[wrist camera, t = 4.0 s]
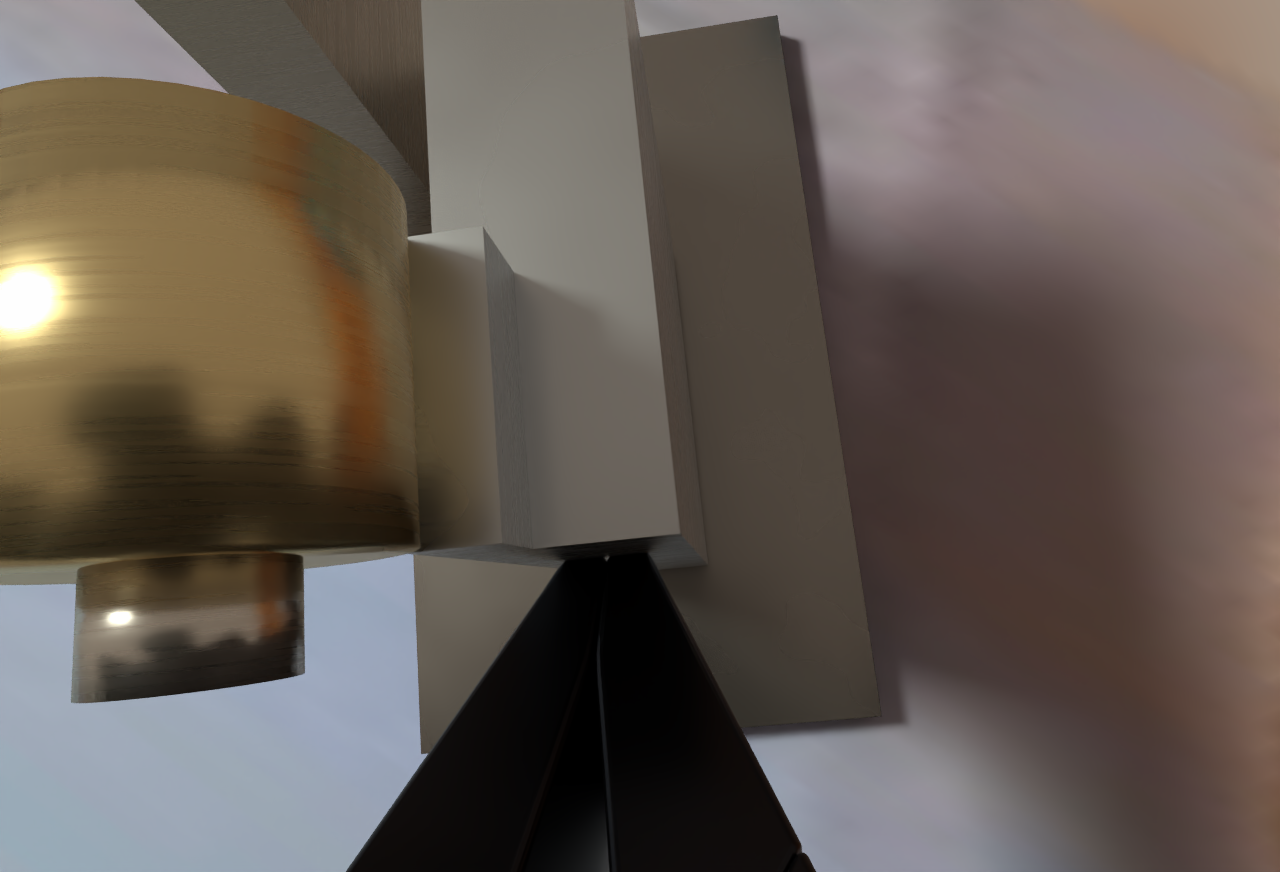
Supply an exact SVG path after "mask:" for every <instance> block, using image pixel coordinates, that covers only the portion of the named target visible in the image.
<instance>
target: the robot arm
mask: <svg viewBox="0 0 1280 872" xmlns="http://www.w3.org/2000/svg"><path fill="white" fill-rule="evenodd" d="M346 872H816V871H815V869H814V867H813V865H812V863H811V861H810V859H809V857H808V856H807V855H806V854H805V853H802V846H801V843H800V841H799V839H798V837H797V835H796V833H795V831H794V829H793V828H792V826H791V824H790V822H789V820H788V818H787V816H786V814H785V812H784V810H783V808H782V806H781V804H780V803H779V801H778V799H777V797H776V795H775V793H774V791H773V789H772V787H771V785H770V783H769V781H768V779H767V778H766V776H765V774H764V772H763V770H762V768H761V766H760V764H759V762H758V760H757V758H756V756H755V754H754V753H753V751H752V749H751V747H750V745H749V743H748V741H747V739H746V737H745V735H744V733H743V731H742V729H741V728H740V726H739V724H738V722H737V720H736V718H735V716H734V714H733V712H732V710H731V708H730V706H729V705H728V703H727V701H726V699H725V697H724V695H723V693H722V691H721V689H720V687H719V685H718V683H717V681H716V680H715V678H714V676H713V674H712V672H711V670H710V668H709V666H708V664H707V662H706V660H705V658H704V656H703V655H702V653H701V651H700V649H699V647H698V645H697V643H696V641H695V639H694V637H693V635H692V633H691V631H690V630H689V628H688V626H687V624H686V622H685V620H684V618H683V616H682V614H681V612H680V610H679V608H678V606H677V605H676V603H675V601H674V599H673V597H672V595H671V593H670V591H669V589H668V587H667V585H666V583H665V581H664V580H663V578H662V576H661V574H660V572H659V570H658V568H657V566H656V564H655V562H654V560H653V558H652V557H651V555H650V554H649V553H636V554H626V555H617V556H610V557H609V558H608V560H607V561H606V559H605V558H603V557H597V558H587V559H578V560H568V561H565V562H563V563H562V564H561V565H560V566H559V568H558V569H557V571H556V572H555V574H554V575H553V576H552V578H551V579H550V581H549V582H548V584H547V585H546V586H545V588H544V589H543V591H542V592H541V594H540V595H539V596H538V598H537V599H536V601H535V602H534V604H533V605H532V606H531V608H530V609H529V611H528V612H527V614H526V615H525V616H524V618H523V619H522V621H521V622H520V624H519V625H518V626H517V628H516V629H515V631H514V632H513V634H512V635H511V636H510V638H509V639H508V641H507V642H506V644H505V645H504V646H503V648H502V649H501V651H500V652H499V654H498V655H497V656H496V658H495V659H494V661H493V662H492V664H491V665H490V666H489V668H488V669H487V671H486V672H485V674H484V675H483V676H482V678H481V679H480V681H479V682H478V684H477V685H476V686H475V688H474V689H473V691H472V692H471V694H470V695H469V696H468V698H467V699H466V701H465V702H464V704H463V705H462V706H461V708H460V709H459V711H458V712H457V714H456V715H455V716H454V718H453V719H452V721H451V722H450V724H449V725H448V726H447V728H446V729H445V731H444V732H443V734H442V735H441V736H440V738H439V739H438V741H437V742H436V744H435V745H434V746H433V748H432V749H431V751H430V752H429V754H428V755H427V756H426V758H425V759H424V761H423V762H422V764H421V765H420V766H419V768H418V769H417V771H416V772H415V774H414V775H413V776H412V778H411V779H410V781H409V782H408V784H407V785H406V786H405V788H404V789H403V791H402V792H401V794H400V795H399V796H398V798H397V799H396V801H395V802H394V804H393V805H392V806H391V808H390V809H389V811H388V812H387V814H386V815H385V816H384V818H383V819H382V821H381V822H380V824H379V825H378V826H377V828H376V829H375V831H374V832H373V834H372V835H371V836H370V838H369V839H368V841H367V842H366V844H365V845H364V846H363V848H362V849H361V851H360V852H359V854H358V855H357V856H356V858H355V859H354V861H353V862H352V864H351V865H350V866H349V868H348V869H347V871H346Z"/></svg>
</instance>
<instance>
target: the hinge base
mask: <svg viewBox="0 0 1280 872" xmlns="http://www.w3.org/2000/svg"><path fill="white" fill-rule="evenodd" d="M135 1H136V2H137V3H138V4H139V5H140V6H141V7H142V8H143V9H144V10H145V11H146V12H147V13H148V14H149V15H150V16H151V17H152V18H153V19H154V20H155V21H156V22H157V23H158V24H159V25H160V26H161V27H162V28H163V29H164V30H165V31H166V32H167V33H168V34H169V35H170V36H171V37H172V38H173V39H174V40H175V41H176V42H177V43H178V44H179V45H180V46H181V47H182V48H183V49H184V50H185V51H186V52H187V53H188V54H189V55H190V56H191V57H192V58H193V59H194V60H195V61H196V62H197V63H198V64H200V65H201V66H202V67H203V68H204V69H205V70H206V71H207V72H208V73H209V74H210V75H211V76H212V77H213V78H214V79H215V80H216V81H217V82H218V83H219V84H220V85H221V86H222V87H223V88H224V89H225V90H226V91H227V92H228V93H229V94H231V95H235V96H239V97H242V98H246V99H250V100H253V101H256V102H260V103H263V104H266V105H269V106H272V107H275V108H278V109H281V110H284V111H286V112H289V113H291V114H293V115H296V116H298V117H301V118H303V119H306V120H308V121H310V122H313V123H315V124H317V125H319V126H321V127H323V128H325V129H327V130H329V131H331V132H333V133H335V134H337V135H338V136H340V137H342V138H343V139H345V140H347V141H348V142H350V143H351V144H353V145H355V146H356V147H358V148H359V149H361V150H362V151H363V152H365V153H366V154H367V155H368V156H370V157H371V158H372V159H373V160H375V161H376V162H377V163H378V164H379V165H380V166H381V167H382V168H383V169H384V170H385V171H386V172H387V173H388V174H389V175H390V176H391V177H392V179H393V180H394V182H395V183H396V185H397V186H398V188H399V189H400V191H401V193H402V196H403V198H404V201H405V204H406V212H407V230H408V237H410V236H417V235H424V234H431V233H432V225H431V203H430V182H429V161H428V139H427V118H426V97H425V76H424V54H423V33H422V12H421V0H135ZM640 41H641V47H642V53H643V60H644V66H645V73H646V79H647V85H648V92H649V98H650V104H651V111H652V117H653V124H654V130H655V136H656V143H657V149H658V156H659V162H660V168H661V175H662V181H663V188H664V194H665V200H666V207H667V213H668V219H669V226H670V232H671V239H672V245H673V254H674V263H675V272H676V281H677V290H678V299H679V308H680V317H681V326H682V335H683V344H684V353H685V362H686V371H687V380H688V389H689V398H690V407H691V416H692V424H693V433H694V442H695V451H696V460H697V469H698V478H699V487H700V496H701V505H702V514H703V523H704V532H705V541H706V550H707V559H708V565H703V566H693V567H683V568H673V569H663V570H659V572H660V574H661V576H662V578H663V580H664V581H665V583H666V585H667V587H668V589H669V591H670V593H671V595H672V597H673V599H674V601H675V603H676V605H677V606H678V608H679V610H680V612H681V614H682V616H683V618H684V620H685V622H686V624H687V626H688V628H689V630H690V631H691V633H692V635H693V637H694V639H695V641H696V643H697V645H698V647H699V649H700V651H701V653H702V655H703V656H704V658H705V660H706V662H707V664H708V666H709V668H710V670H711V672H712V674H713V676H714V678H715V680H716V681H717V683H718V685H719V687H720V689H721V691H722V693H723V695H724V697H725V699H726V701H727V703H728V705H729V706H730V708H731V710H732V712H733V714H734V716H735V718H736V720H737V722H738V724H739V726H740V728H743V727H756V726H768V725H780V724H792V723H805V722H817V721H829V720H841V719H854V718H866V717H878V716H882V715H881V709H880V702H879V695H878V688H877V682H876V675H875V668H874V662H873V655H872V648H871V641H870V635H869V628H868V621H867V614H866V608H865V601H864V594H863V588H862V581H861V574H860V567H859V561H858V554H857V547H856V541H855V534H854V527H853V520H852V514H851V507H850V500H849V494H848V487H847V480H846V473H845V467H844V460H843V453H842V447H841V440H840V433H839V426H838V420H837V413H836V406H835V400H834V393H833V386H832V379H831V373H830V366H829V359H828V353H827V346H826V339H825V332H824V326H823V319H822V312H821V306H820V299H819V292H818V285H817V279H816V272H815V265H814V259H813V252H812V245H811V238H810V232H809V225H808V218H807V212H806V205H805V198H804V191H803V185H802V178H801V171H800V165H799V158H798V151H797V144H796V138H795V131H794V124H793V118H792V111H791V104H790V97H789V91H788V84H787V77H786V71H785V64H784V57H783V50H782V44H781V37H780V30H779V24H778V17H777V15H776V16H770V17H764V18H757V19H751V20H745V21H739V22H732V23H726V24H720V25H714V26H707V27H701V28H695V29H689V30H682V31H676V32H670V33H664V34H657V35H651V36H645V37H640ZM557 569H558V568H548V567H538V566H528V565H517V564H507V563H497V562H486V561H476V560H465V559H455V558H445V557H434V556H424V555H414V579H415V605H416V631H417V657H418V683H419V708H420V734H421V754H426V753H429V752H430V751H431V749H432V748H433V746H434V745H435V744H436V742H437V741H438V739H439V738H440V736H441V735H442V734H443V732H444V731H445V729H446V728H447V726H448V725H449V724H450V722H451V721H452V719H453V718H454V716H455V715H456V714H457V712H458V711H459V709H460V708H461V706H462V705H463V704H464V702H465V701H466V699H467V698H468V696H469V695H470V694H471V692H472V691H473V689H474V688H475V686H476V685H477V684H478V682H479V681H480V679H481V678H482V676H483V675H484V674H485V672H486V671H487V669H488V668H489V666H490V665H491V664H492V662H493V661H494V659H495V658H496V656H497V655H498V654H499V652H500V651H501V649H502V648H503V646H504V645H505V644H506V642H507V641H508V639H509V638H510V636H511V635H512V634H513V632H514V631H515V629H516V628H517V626H518V625H519V624H520V622H521V621H522V619H523V618H524V616H525V615H526V614H527V612H528V611H529V609H530V608H531V606H532V605H533V604H534V602H535V601H536V599H537V598H538V596H539V595H540V594H541V592H542V591H543V589H544V588H545V586H546V585H547V584H548V582H549V581H550V579H551V578H552V576H553V575H554V574H555V572H556V571H557Z"/></svg>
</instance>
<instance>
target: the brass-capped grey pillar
mask: <svg viewBox="0 0 1280 872" xmlns="http://www.w3.org/2000/svg"><path fill="white" fill-rule="evenodd" d="M421 12H422V33H423V54H424V76H425V97H426V118H427V139H428V161H429V182H430V203H431V225H432V233H431V234H424V235H417V236H410V237H408V230H407V212H406V204H405V201H404V198H403V196H402V193H401V191H400V189H399V188H398V186H397V185H396V183H395V182H394V180H393V179H392V177H391V176H390V175H389V174H388V173H387V172H386V171H385V170H384V169H383V168H382V167H381V166H380V165H379V164H378V163H377V162H376V161H375V160H373V159H372V158H371V157H370V156H368V155H367V154H366V153H365V152H363V151H362V150H361V149H359V148H358V147H356V146H355V145H353V144H351V143H350V142H348V141H347V140H345V139H343V138H342V137H340V136H338V135H337V134H335V133H333V132H331V131H329V130H327V129H325V128H323V127H321V126H319V125H317V124H315V123H313V122H310V121H308V120H306V119H303V118H301V117H298V116H296V115H293V114H291V113H289V112H286V111H284V110H281V109H278V108H275V107H272V106H269V105H266V104H263V103H260V102H256V101H253V100H250V99H246V98H242V97H239V96H235V95H231V94H227V93H223V92H219V91H215V90H210V89H204V88H199V87H194V86H189V85H183V84H178V83H170V82H161V81H153V80H145V79H132V78H112V77H83V78H61V79H53V80H44V81H35V82H30V83H25V84H21V85H16V86H12V87H7V88H3V89H1V90H0V585H44V584H76V601H75V623H74V646H73V668H72V690H71V703H93V702H107V701H119V700H129V699H139V698H149V697H158V696H167V695H175V694H183V693H191V692H199V691H207V690H214V689H221V688H228V687H235V686H242V685H249V684H255V683H261V682H267V681H273V680H279V679H284V678H289V677H294V676H298V675H302V674H304V673H305V647H304V569H308V568H317V567H326V566H334V565H343V564H351V563H358V562H365V561H372V560H378V559H384V558H390V557H395V556H399V555H404V554H413V555H424V556H434V557H445V558H455V559H465V560H476V561H486V562H497V563H507V564H517V565H528V566H538V567H548V568H559V566H560V565H561V564H562V563H563V562H565V561H568V560H578V559H587V558H597V557H603V558H605V559H606V561H607V560H608V558H609V557H610V556H617V555H626V554H636V553H649V554H650V555H651V557H652V558H653V560H654V562H655V564H656V566H657V568H658V570H663V569H673V568H683V567H693V566H703V565H708V559H707V550H706V541H705V532H704V523H703V514H702V505H701V496H700V487H699V478H698V469H697V460H696V451H695V442H694V433H693V424H692V416H691V407H690V398H689V389H688V380H687V371H686V362H685V353H684V344H683V335H682V326H681V317H680V308H679V299H678V290H677V281H676V272H675V263H674V254H673V245H672V239H671V232H670V226H669V219H668V213H667V207H666V200H665V194H664V188H663V181H662V175H661V168H660V162H659V156H658V149H657V143H656V136H655V130H654V124H653V117H652V111H651V104H650V98H649V92H648V85H647V79H646V73H645V66H644V60H643V53H642V47H641V41H640V34H639V28H638V21H637V15H636V9H635V2H634V0H421Z"/></svg>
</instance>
